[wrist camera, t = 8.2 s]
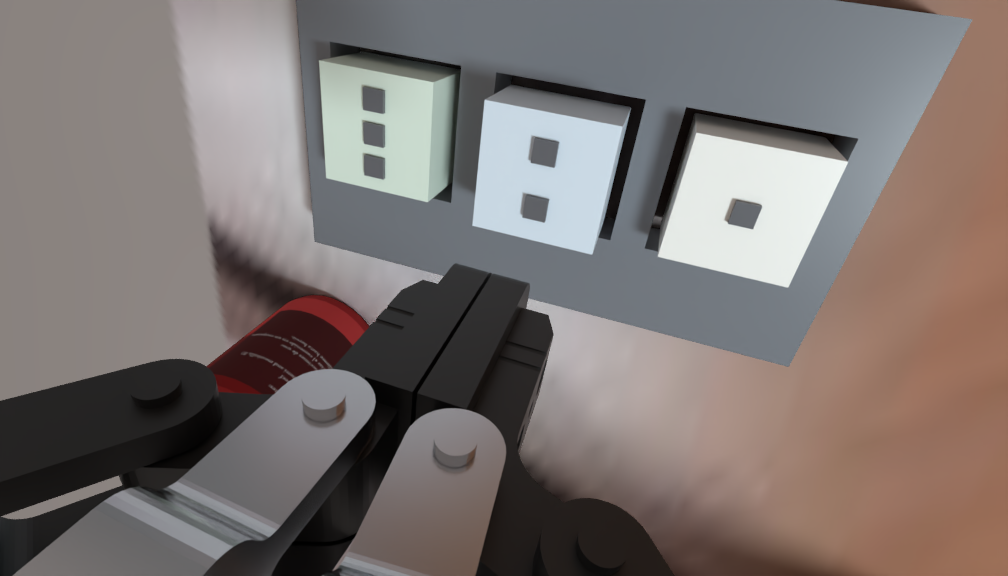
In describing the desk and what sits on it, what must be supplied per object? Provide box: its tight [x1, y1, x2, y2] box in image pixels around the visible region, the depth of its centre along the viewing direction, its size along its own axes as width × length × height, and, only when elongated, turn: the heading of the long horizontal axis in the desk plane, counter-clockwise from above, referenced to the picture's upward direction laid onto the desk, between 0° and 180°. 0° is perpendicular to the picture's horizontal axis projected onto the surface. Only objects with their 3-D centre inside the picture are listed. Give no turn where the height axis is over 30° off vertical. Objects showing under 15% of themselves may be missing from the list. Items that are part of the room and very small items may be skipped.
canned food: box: [206, 295, 369, 394], centre depth 30 cm, size 8×8×11 cm
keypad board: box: [296, 0, 972, 367], centre depth 23 cm, size 24×14×2 cm, turn 82°
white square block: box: [658, 113, 848, 288], centre depth 21 cm, size 5×5×4 cm
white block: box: [319, 52, 461, 202], centre depth 23 cm, size 5×5×4 cm
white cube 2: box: [472, 85, 631, 255], centre depth 21 cm, size 5×5×4 cm
